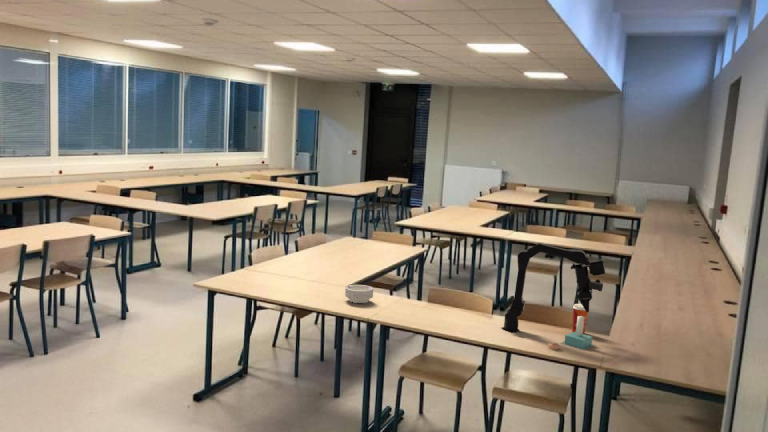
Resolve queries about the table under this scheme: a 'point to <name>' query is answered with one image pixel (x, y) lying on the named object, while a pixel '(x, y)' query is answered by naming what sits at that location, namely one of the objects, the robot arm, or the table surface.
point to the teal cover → (578, 336)
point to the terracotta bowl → (553, 346)
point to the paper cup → (579, 311)
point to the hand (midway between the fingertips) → (587, 309)
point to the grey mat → (579, 348)
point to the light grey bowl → (359, 293)
